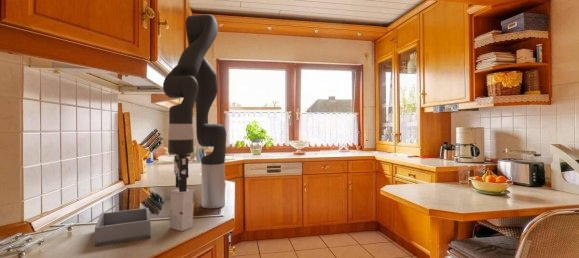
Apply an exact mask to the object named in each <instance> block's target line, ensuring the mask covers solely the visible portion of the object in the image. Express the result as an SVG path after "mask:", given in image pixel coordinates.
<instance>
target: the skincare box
mask: <svg viewBox="0 0 579 258" xmlns="http://www.w3.org/2000/svg"><path fill="white" fill-rule="evenodd" d="M169 209H170V213H169V214H170V215H169V228H170V229H173V230H177V231H181V232H183V231H186V230H189V229H191V228H193V216H194V215H193V214H194V210H193V209H194V190H193V189H189V188H187V191H186V192H179V188H176V189H174V188H173V189H172V190H170V208H169Z"/></svg>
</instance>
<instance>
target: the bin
mask: <svg viewBox="0 0 579 258" xmlns="http://www.w3.org/2000/svg"><path fill="white" fill-rule="evenodd" d="M151 224H152V223H151V214H150V208H149V207H142V208H134V209H126V210H117V211H111V212H110V211H108V212H101V213H100V215H99V217H98V220H97V222H96V224H95V226H94V247H100V246H106V245H112V244H120V243H125V242H131V241H137V240H138V241H139V240H143V239H150V238H152V237H151V233H152V231H151V230H152V229H151Z"/></svg>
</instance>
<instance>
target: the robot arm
mask: <svg viewBox="0 0 579 258" xmlns="http://www.w3.org/2000/svg"><path fill="white" fill-rule="evenodd" d="M185 31H186V32H185V33H186V38H187V43H188V45H187V46H186V48H185V49H184V50H183V52H182V53H181V55H180V57H179V60H178V61H177V64H176V65H175V66H174V67H173V68H172V70H171V71H170V72H169V73H168V74H167V75H166V77H165V79H164V80H163V84H162V90H163V93H164V95H166V96H167V97H168V98H171V99H182V101H181V102H180V103H179V104H175V105H172V106H170V107H169V111H168V119H169V121H168V132H167V133H168V136H167V137H168V141H167V142H168V144H167V145H168V147H167V148H168V151H167V153H168V154H171V155H174V159H173V170H174V171H173V172H174V175H175V187H176V189H179V192H186V191H187V189H188V188H187V187H188V186H187V185H188V183H187V182H188V181H187V180H188V178H189V157H187V154H192V153H194V127H193V119H194V118H193V117H194V116H193V115H194V114H193V112H194V107H195V118H196V119H195V125H196V126H195V128H196V130H195V131H196V132H195V134H196V140H197V143H198V145H199V146H200V147H203V148H204V147H205V148H206V147H209V148H210V147H212V148H213V150H212V152H210V153H209V154H206V155H203V156H202V157H201V160H200V161H201V166H200V167H201V168H200V169H201V207H202V208H204V209H218V208H219V209H220V208H221V207H225V206H226V179H225V178H226V176H225V175H226V167H225V166H226V149H227V146H226V144H227V131H226V127H225V126H224V125H223V124H221V123H211V124H210V123H209V112H210V109H211V107H212V105H213V103H214V101H215V99H216V97H217V95H218V92H219V88H218V87H219V86H218V80H217V79H218V77H217V72H216V71H215V69H214V67H213V66H212V65H211V63H210V62H209V61H208V59H207V58H206V57H205V56H206V54H207V53H208V51H209V49H210V48H211V46H212V45H213V43H214V41H216V38H217V36H218V32H219V27H218V22H217V19H216V17H215V16H214V15H213V14H193V15H188V16H187V17H186V19H185Z"/></svg>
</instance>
